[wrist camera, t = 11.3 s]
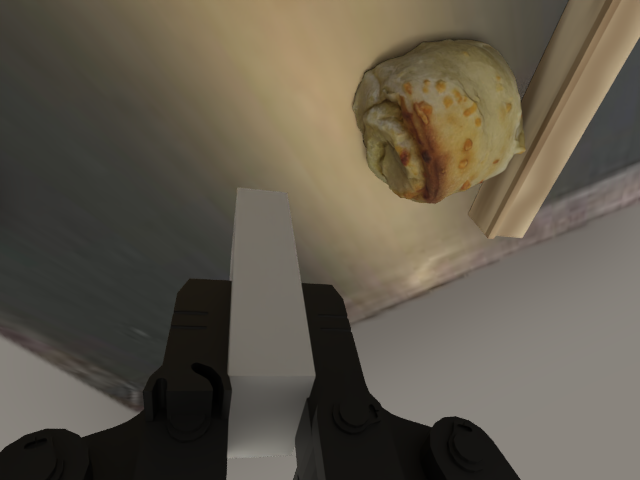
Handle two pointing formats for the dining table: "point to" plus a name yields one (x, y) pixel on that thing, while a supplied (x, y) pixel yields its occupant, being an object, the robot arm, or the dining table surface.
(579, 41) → the wooden block
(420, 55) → the pastry
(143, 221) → the dining table surface
